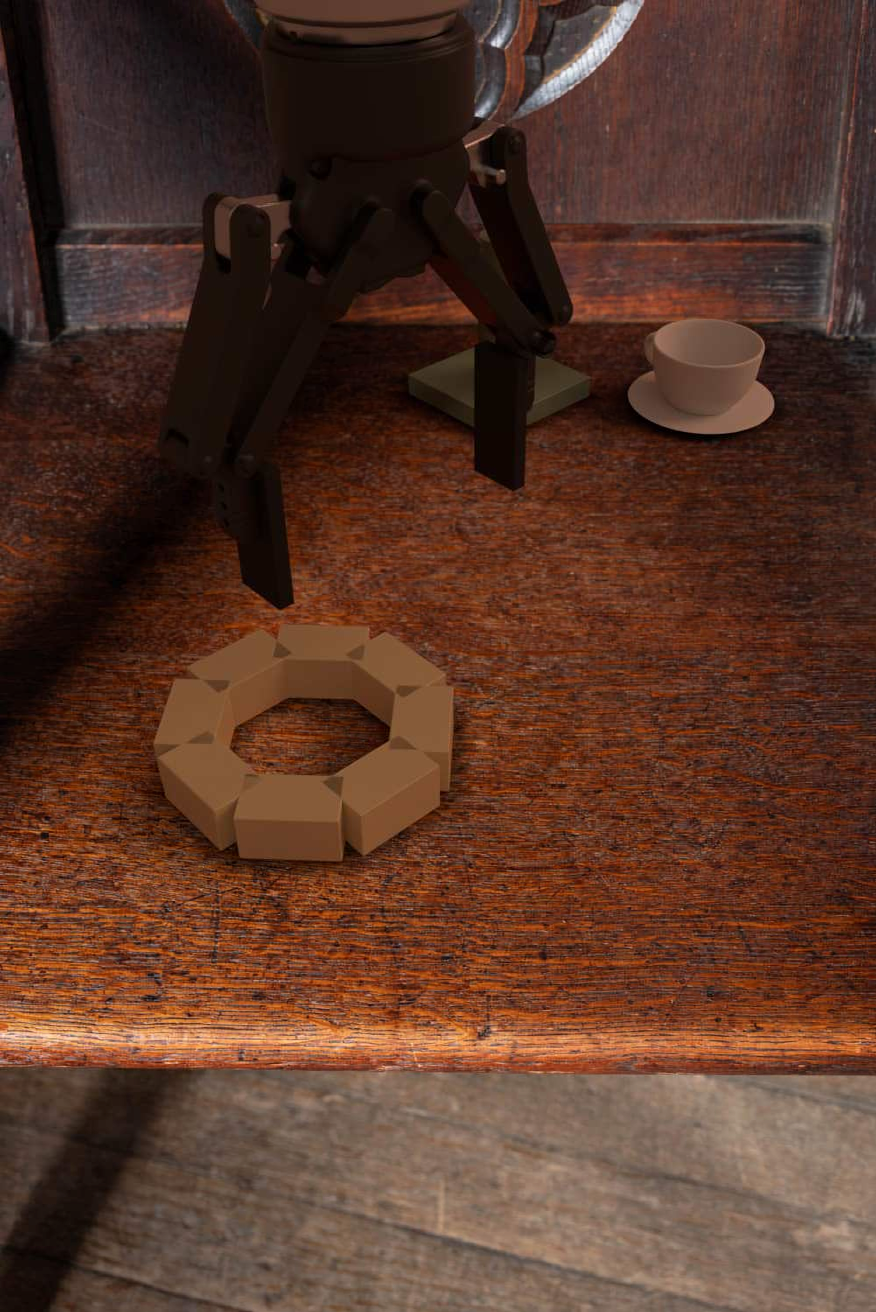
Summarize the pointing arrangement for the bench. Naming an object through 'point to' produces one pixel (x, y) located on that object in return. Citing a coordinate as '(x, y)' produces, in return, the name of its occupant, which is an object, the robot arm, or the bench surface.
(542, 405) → the stand
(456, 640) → the bench surface
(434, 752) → the ring of blocks
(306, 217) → the robot arm
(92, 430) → the bench surface
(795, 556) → the bench surface
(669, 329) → the teacup
